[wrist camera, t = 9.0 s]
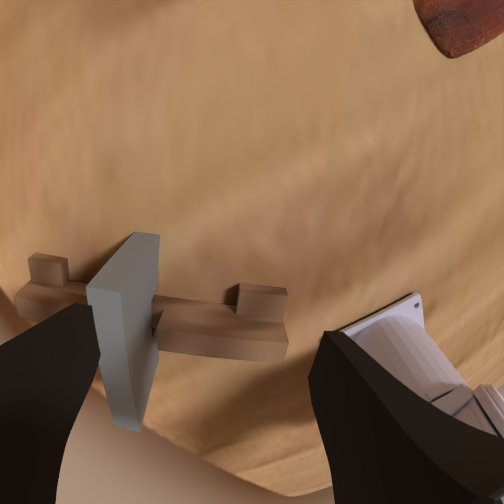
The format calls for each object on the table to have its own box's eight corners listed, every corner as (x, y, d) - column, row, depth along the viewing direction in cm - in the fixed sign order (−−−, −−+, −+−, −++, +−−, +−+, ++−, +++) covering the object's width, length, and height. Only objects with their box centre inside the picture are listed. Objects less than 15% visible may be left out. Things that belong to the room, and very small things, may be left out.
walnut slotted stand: (285, 288, 19) (295, 319, 16) (270, 347, 21) (276, 381, 18) (35, 252, 17) (8, 273, 14) (45, 310, 19) (24, 335, 15)
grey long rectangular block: (158, 359, 21) (140, 432, 14) (138, 355, 21) (115, 426, 14) (159, 234, 17) (120, 292, 11) (134, 231, 17) (85, 286, 10)
